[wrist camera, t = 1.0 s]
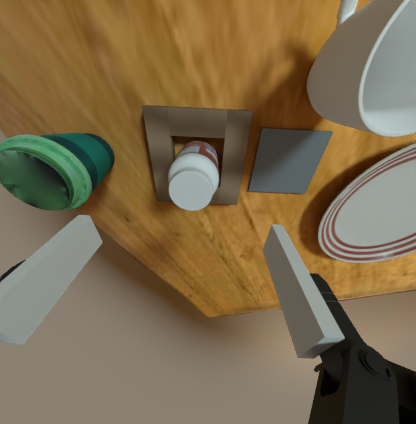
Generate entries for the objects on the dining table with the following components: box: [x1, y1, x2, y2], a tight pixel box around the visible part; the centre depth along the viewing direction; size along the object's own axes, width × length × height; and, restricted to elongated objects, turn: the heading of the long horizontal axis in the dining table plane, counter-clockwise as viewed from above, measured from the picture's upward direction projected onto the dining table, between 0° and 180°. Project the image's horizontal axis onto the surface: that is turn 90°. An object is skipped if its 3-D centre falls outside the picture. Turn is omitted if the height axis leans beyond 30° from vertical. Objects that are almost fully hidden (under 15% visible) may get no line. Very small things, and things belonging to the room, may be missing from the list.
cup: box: [0, 133, 114, 210], centre depth 20 cm, size 8×8×12 cm
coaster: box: [248, 128, 333, 194], centre depth 25 cm, size 10×10×1 cm
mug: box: [306, 0, 416, 137], centre depth 14 cm, size 12×9×12 cm
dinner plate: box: [318, 143, 416, 263], centre depth 29 cm, size 28×27×3 cm
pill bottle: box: [168, 140, 219, 211], centre depth 21 cm, size 6×6×11 cm
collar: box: [142, 105, 253, 205], centre depth 25 cm, size 14×14×2 cm
